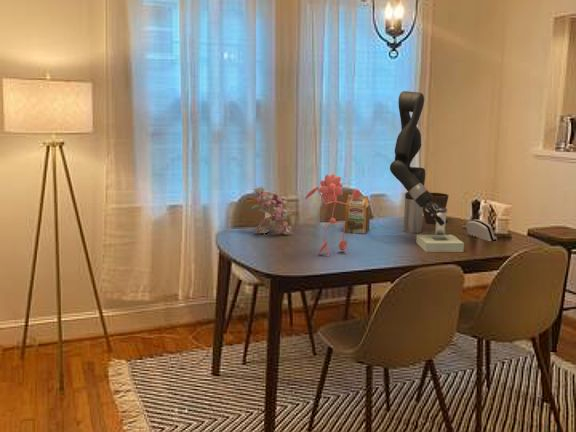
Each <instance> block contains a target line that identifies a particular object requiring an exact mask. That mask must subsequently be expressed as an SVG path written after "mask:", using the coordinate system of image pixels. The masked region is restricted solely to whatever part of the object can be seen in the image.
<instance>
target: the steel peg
mask: <svg viewBox="0 0 576 432" xmlns="http://www.w3.org/2000/svg"><path fill="white" fill-rule="evenodd" d="M436 210H437V213H438V215H439V217H440V218H441V219H442V220H443V221H444V222H445V223H444V224H443V225H442V226H440V224H439V223H438V222H437V221H436V224H435V226H434V227H435V228H434V229H435V231H434V235H446V224H447V223H446V219H447V212H448V208H447V207H446V208H436Z"/></svg>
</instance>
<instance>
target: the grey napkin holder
mask: <svg viewBox="0 0 576 432" xmlns="http://www.w3.org/2000/svg"><path fill="white" fill-rule="evenodd" d="M466 230H467V231H466V233H467V235H469V234H470V235H469V236H472V235H473V237H475V236H476V237H475V238H478V237H479V238H478V239H481V240H484V241H487V242H492V240H494V241H498V237H497V236H495V234H494V230H493V227H492V226H491V224H489V223H488V222H487V221H484V220H482V219H471V220H469V221H467V222H466Z"/></svg>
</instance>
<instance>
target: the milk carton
mask: <svg viewBox="0 0 576 432" xmlns="http://www.w3.org/2000/svg"><path fill="white" fill-rule="evenodd" d="M351 197H352V194H348V196H347V200H346V204H347V203H348V202H349V200H350V198H351ZM344 217H345V218H344V226H345V231H344V234H349V233H350V235H367V234H368V232H369V231H370V223H371V221H370V219H371V202H370V199H369V195H360V197H359V198H358V199H357V200H356V199H354V198H352V199H351V201H350V202H349V204H348V205H345V215H344Z"/></svg>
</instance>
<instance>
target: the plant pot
mask: <svg viewBox="0 0 576 432" xmlns="http://www.w3.org/2000/svg"><path fill="white" fill-rule="evenodd" d="M429 193H430V194H431V195H432V196H433V199H432V202H433V203H435V204H436V203H437V204H438V205H439V206H440V208H446V209H447V205H448V200H449V194H447V193H442V192H441V193H440V192H429ZM424 209H425V207H423V217H424V221H425V223H427V224H429V225H430V224H431V225H436V220H435V219H432V218H431V217H430V216H429V215H428V214H427V213H426V212H425V211H424Z"/></svg>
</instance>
